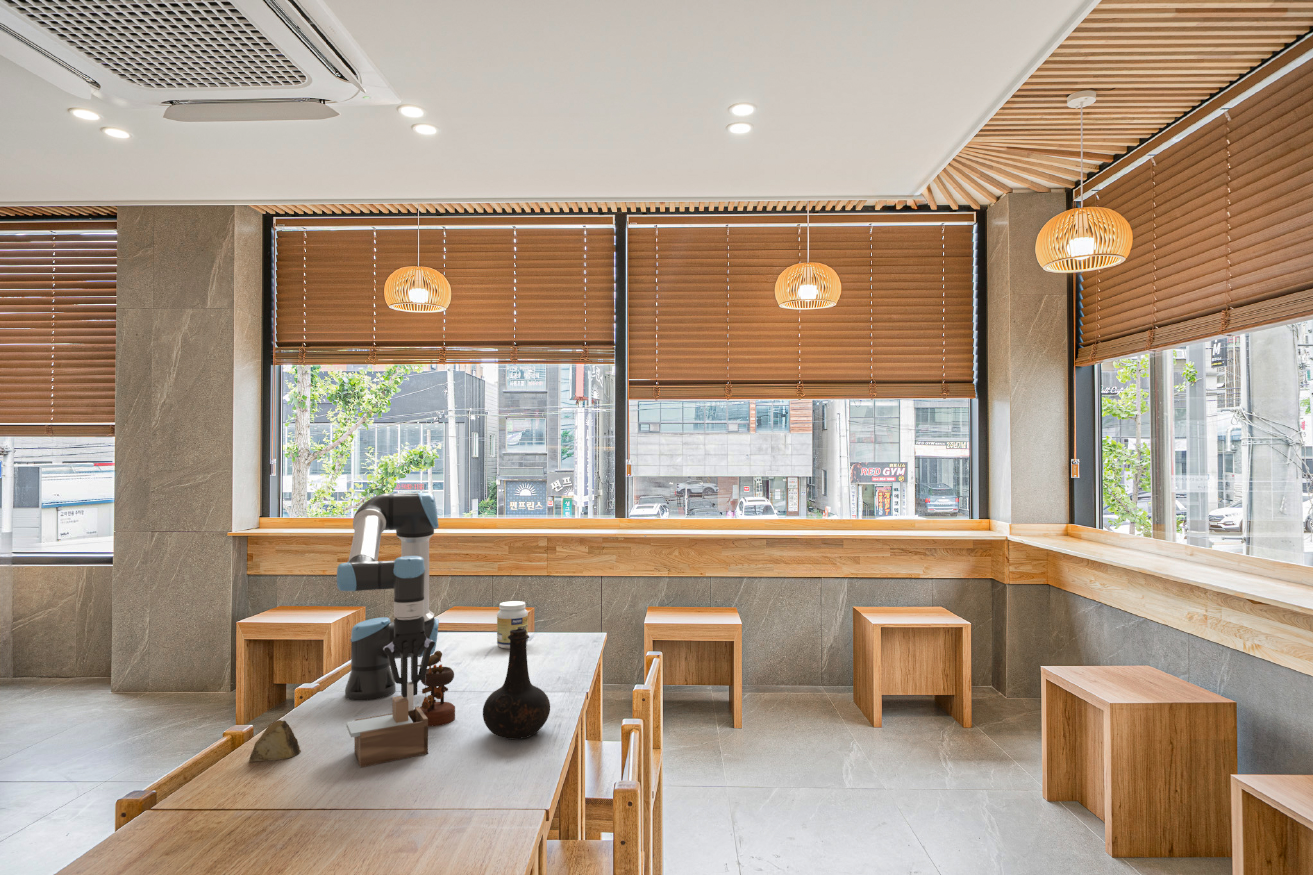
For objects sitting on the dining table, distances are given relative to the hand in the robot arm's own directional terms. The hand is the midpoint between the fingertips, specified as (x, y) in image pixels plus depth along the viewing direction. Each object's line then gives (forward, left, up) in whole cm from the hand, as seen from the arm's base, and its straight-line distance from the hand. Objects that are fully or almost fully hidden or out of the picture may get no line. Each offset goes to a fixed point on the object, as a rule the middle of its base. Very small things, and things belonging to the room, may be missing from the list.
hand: (409, 708), depth 189 cm
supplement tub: (-89, +57, -11) cm, 106 cm away
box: (0, -5, -10) cm, 11 cm away
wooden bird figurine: (-19, +11, -11) cm, 25 cm away
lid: (0, -7, -3) cm, 8 cm away
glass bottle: (+4, +27, -11) cm, 30 cm away
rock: (-13, -31, -11) cm, 35 cm away
